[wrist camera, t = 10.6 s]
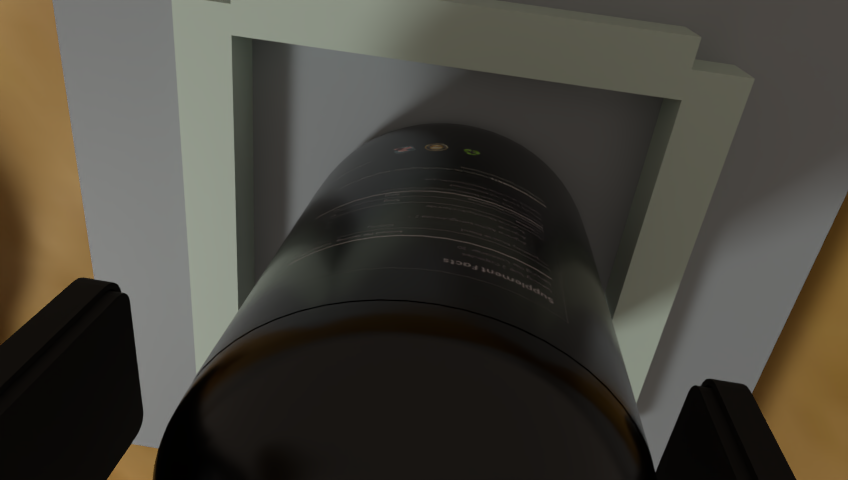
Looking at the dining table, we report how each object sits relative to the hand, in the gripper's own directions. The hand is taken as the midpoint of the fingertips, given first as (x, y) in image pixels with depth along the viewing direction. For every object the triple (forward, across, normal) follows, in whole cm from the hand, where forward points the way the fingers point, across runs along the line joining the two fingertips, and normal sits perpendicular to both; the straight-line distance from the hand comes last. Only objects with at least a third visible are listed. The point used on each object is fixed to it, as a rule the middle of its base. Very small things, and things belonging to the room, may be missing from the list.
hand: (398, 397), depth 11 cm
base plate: (+8, 0, 0) cm, 8 cm away
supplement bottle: (+6, 0, 0) cm, 6 cm away
